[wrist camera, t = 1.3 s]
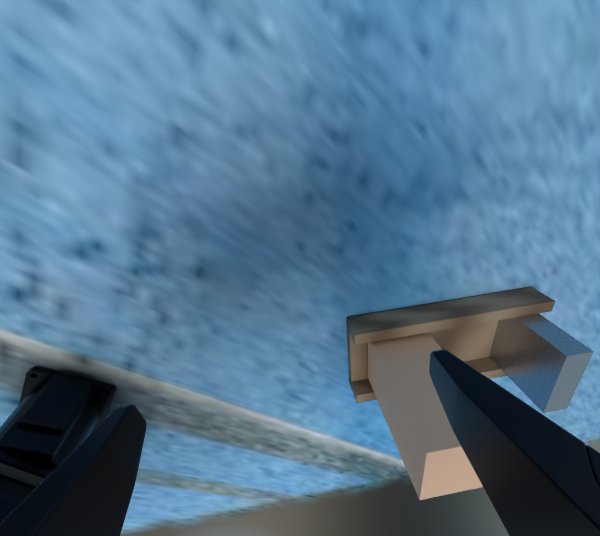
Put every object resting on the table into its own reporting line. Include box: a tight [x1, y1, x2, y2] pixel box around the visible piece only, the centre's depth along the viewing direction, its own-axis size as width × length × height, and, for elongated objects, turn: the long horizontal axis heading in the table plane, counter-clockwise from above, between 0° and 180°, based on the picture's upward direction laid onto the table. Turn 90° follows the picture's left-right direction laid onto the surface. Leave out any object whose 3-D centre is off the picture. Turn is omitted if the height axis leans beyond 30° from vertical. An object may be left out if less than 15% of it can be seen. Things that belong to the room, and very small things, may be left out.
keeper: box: [368, 332, 483, 500], centre depth 22 cm, size 5×5×10 cm
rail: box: [347, 287, 555, 403], centre depth 27 cm, size 17×8×2 cm, turn 96°
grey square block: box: [489, 313, 593, 413], centre depth 25 cm, size 2×6×7 cm, turn 6°
